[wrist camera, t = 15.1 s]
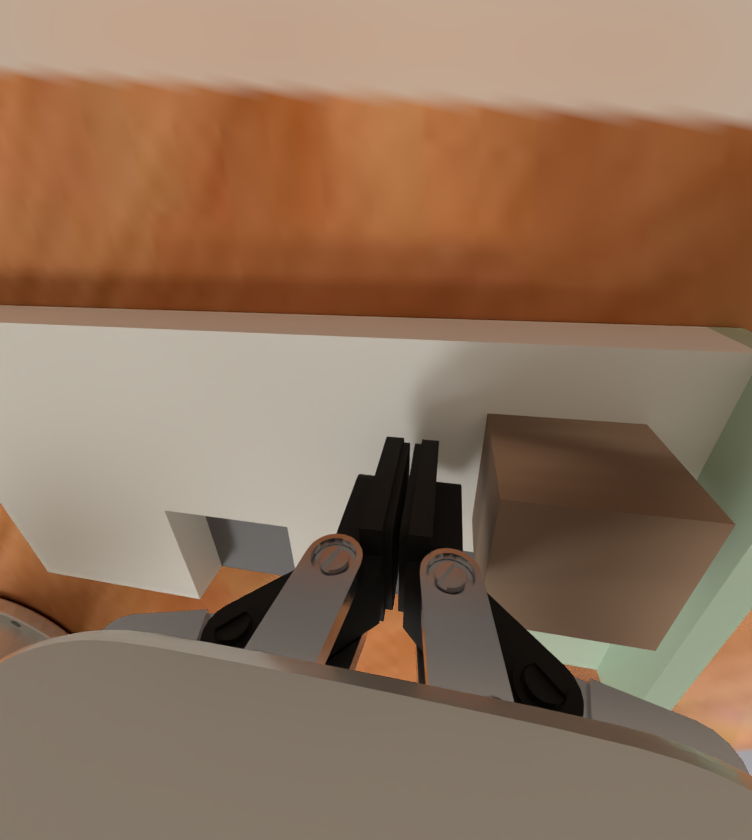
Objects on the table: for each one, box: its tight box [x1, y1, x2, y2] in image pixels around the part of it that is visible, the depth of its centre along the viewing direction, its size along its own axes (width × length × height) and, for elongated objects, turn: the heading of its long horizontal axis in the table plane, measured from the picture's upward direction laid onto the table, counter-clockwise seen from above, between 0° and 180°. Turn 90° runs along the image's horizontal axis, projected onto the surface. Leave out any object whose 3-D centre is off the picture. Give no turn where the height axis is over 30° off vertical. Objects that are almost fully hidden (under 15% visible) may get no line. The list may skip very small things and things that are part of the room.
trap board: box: [0, 305, 752, 711], centre depth 15 cm, size 31×15×5 cm, turn 91°
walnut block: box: [472, 413, 736, 651], centre depth 11 cm, size 4×4×4 cm
